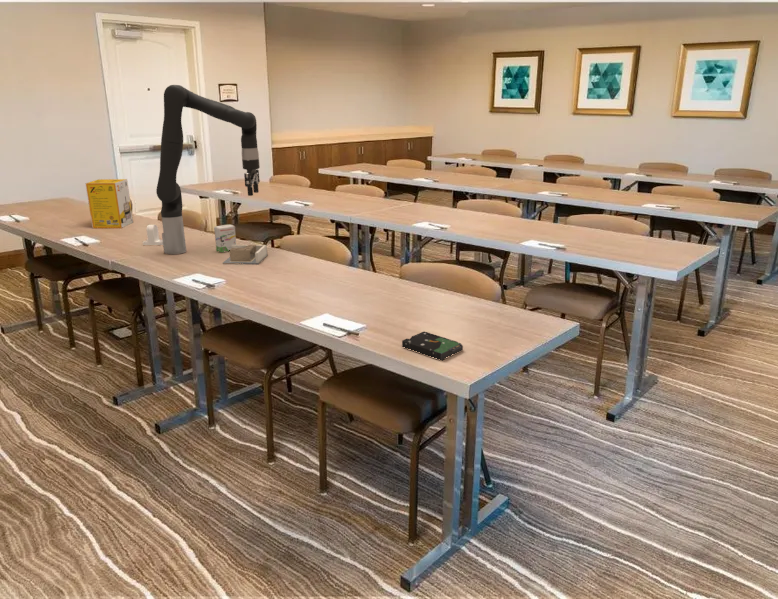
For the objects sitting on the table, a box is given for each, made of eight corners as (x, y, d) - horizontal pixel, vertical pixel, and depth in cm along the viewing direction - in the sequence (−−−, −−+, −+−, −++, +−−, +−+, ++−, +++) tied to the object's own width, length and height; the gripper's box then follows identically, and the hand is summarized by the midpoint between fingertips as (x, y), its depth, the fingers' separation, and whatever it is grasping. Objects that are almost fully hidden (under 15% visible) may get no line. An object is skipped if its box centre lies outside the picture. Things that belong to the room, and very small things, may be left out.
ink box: (220, 253, 291) (218, 228, 287) (216, 251, 295) (213, 226, 291) (237, 250, 296) (235, 225, 292) (232, 248, 300) (230, 224, 296)
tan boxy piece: (230, 261, 274) (229, 250, 272) (237, 255, 283) (236, 244, 282) (250, 261, 273) (249, 250, 272) (256, 255, 283) (255, 244, 281)
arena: (222, 263, 272) (221, 252, 271) (233, 255, 287) (232, 244, 285) (258, 264, 271) (257, 253, 270) (267, 255, 285) (266, 245, 284)
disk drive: (401, 349, 182) (441, 362, 173) (401, 340, 181) (441, 353, 172) (423, 339, 190) (463, 351, 180) (423, 330, 189) (463, 342, 179)
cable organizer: (147, 243, 312) (144, 223, 308) (166, 243, 311) (164, 223, 308) (142, 245, 307) (139, 225, 303) (162, 246, 306) (159, 226, 303)
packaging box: (105, 222, 362) (98, 179, 354) (133, 222, 362) (127, 179, 354) (92, 228, 347) (85, 183, 339) (121, 228, 346) (115, 183, 339)
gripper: (247, 156, 289) (250, 191, 294) (237, 160, 275) (240, 196, 281) (263, 156, 288) (265, 191, 293) (253, 159, 275) (256, 196, 280)
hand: (253, 194), depth 287 cm, fingers open, 8 cm apart
